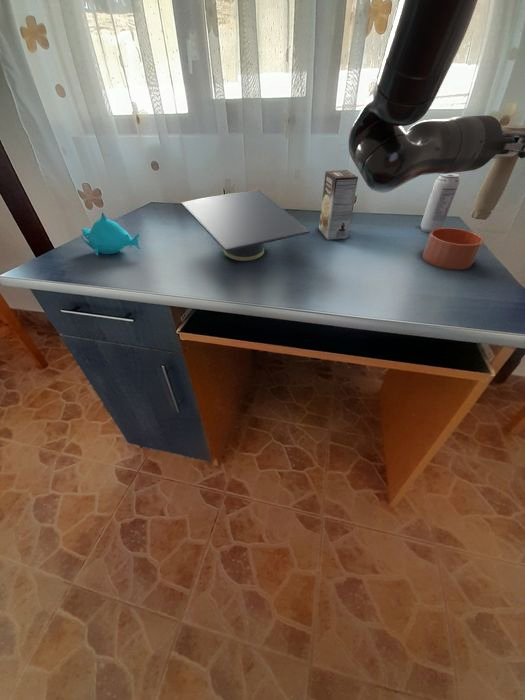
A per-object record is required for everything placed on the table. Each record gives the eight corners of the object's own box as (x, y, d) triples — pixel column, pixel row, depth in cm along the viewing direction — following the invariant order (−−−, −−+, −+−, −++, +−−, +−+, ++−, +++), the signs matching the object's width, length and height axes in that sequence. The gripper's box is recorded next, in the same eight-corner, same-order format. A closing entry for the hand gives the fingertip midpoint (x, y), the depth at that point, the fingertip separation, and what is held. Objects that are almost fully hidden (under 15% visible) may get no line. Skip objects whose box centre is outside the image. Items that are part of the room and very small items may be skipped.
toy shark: (101, 243, 86) (87, 203, 79) (155, 250, 81) (145, 209, 74) (76, 257, 79) (57, 214, 72) (134, 265, 74) (120, 221, 67)
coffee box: (318, 229, 93) (324, 170, 82) (337, 228, 93) (346, 169, 83) (327, 240, 86) (335, 177, 75) (348, 238, 87) (359, 176, 76)
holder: (478, 259, 75) (489, 235, 71) (462, 274, 69) (474, 249, 65) (432, 247, 81) (440, 224, 77) (414, 260, 75) (422, 236, 71)
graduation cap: (185, 239, 85) (179, 201, 77) (257, 224, 93) (258, 189, 85) (224, 292, 68) (221, 250, 61) (307, 269, 76) (314, 230, 69)
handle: (501, 220, 60) (548, 127, 50) (475, 222, 58) (518, 128, 49) (482, 213, 63) (523, 125, 53) (457, 215, 62) (494, 126, 52)
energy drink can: (433, 226, 94) (453, 172, 84) (444, 233, 89) (466, 176, 79) (415, 227, 93) (433, 172, 83) (425, 234, 89) (445, 177, 79)
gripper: (518, 118, 40) (585, 115, 46) (431, 113, 50) (495, 111, 56) (490, 181, 45) (554, 171, 51) (416, 165, 55) (476, 158, 61)
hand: (523, 140), depth 53 cm, fingers closed on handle, 5 cm apart
